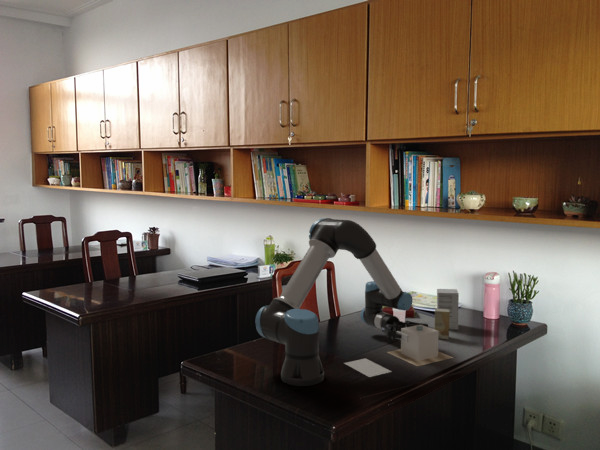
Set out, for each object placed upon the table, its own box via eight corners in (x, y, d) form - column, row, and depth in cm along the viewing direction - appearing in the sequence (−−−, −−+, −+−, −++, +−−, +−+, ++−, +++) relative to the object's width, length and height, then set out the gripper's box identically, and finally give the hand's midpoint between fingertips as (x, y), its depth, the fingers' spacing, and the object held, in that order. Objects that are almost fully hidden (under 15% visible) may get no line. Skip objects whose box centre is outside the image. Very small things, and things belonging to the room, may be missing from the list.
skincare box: (433, 338, 231) (434, 310, 230) (433, 335, 235) (434, 308, 234) (449, 339, 229) (449, 311, 228) (449, 336, 233) (449, 309, 232)
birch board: (417, 367, 197) (417, 366, 197) (386, 353, 213) (386, 352, 213) (453, 359, 206) (453, 357, 206) (421, 346, 221) (421, 344, 221)
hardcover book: (414, 318, 264) (415, 310, 264) (371, 318, 266) (371, 309, 266) (411, 312, 276) (411, 304, 276) (370, 311, 278) (370, 303, 277)
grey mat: (369, 378, 188) (369, 377, 188) (343, 364, 202) (343, 363, 202) (405, 369, 195) (405, 368, 195) (378, 356, 209) (378, 355, 209)
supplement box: (458, 330, 243) (459, 293, 241) (437, 329, 245) (437, 292, 243) (456, 324, 252) (457, 288, 251) (436, 323, 254) (436, 288, 252)
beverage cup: (401, 330, 243) (401, 300, 242) (389, 328, 247) (390, 298, 246) (408, 327, 248) (408, 297, 246) (396, 325, 252) (397, 295, 250)
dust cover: (418, 360, 202) (418, 331, 201) (400, 353, 211) (401, 325, 210) (438, 356, 207) (438, 327, 206) (420, 348, 216) (420, 321, 215)
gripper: (410, 327, 233) (445, 340, 214) (363, 336, 221) (396, 351, 202) (410, 310, 232) (446, 322, 213) (363, 318, 220) (396, 331, 201)
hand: (421, 336), depth 208 cm, fingers open, 13 cm apart
